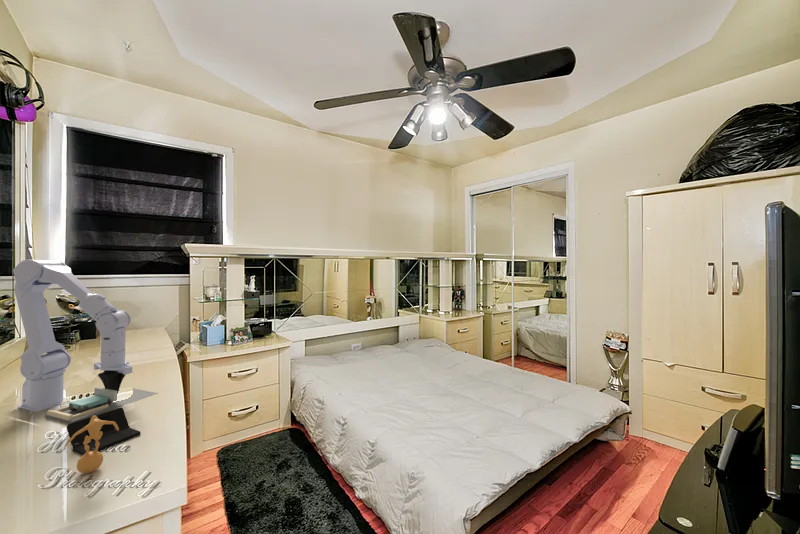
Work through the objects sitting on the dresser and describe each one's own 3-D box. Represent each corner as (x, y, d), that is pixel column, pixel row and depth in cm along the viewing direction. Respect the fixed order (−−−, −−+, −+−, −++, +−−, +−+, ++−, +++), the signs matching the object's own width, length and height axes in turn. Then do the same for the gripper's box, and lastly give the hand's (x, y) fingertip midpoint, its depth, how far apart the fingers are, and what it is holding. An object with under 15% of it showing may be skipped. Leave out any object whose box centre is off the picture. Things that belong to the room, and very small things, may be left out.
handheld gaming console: (92, 451, 71) (80, 410, 74) (71, 468, 72) (60, 426, 75) (146, 433, 82) (133, 398, 85) (126, 448, 83) (115, 413, 86)
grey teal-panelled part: (63, 410, 92) (64, 395, 92) (98, 400, 100) (99, 386, 100) (83, 415, 89) (84, 400, 90) (118, 404, 97) (118, 390, 98)
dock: (44, 417, 90) (44, 409, 90) (133, 389, 111) (133, 383, 111) (71, 424, 86) (71, 416, 86) (158, 394, 107) (158, 387, 107)
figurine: (112, 458, 71) (113, 404, 71) (122, 467, 68) (123, 410, 68) (58, 479, 64) (59, 418, 64) (67, 490, 61) (68, 426, 61)
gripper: (143, 349, 102) (142, 392, 102) (112, 345, 106) (111, 387, 106) (117, 355, 95) (116, 401, 95) (86, 350, 100) (85, 395, 100)
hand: (112, 394), depth 100 cm, fingers closed
